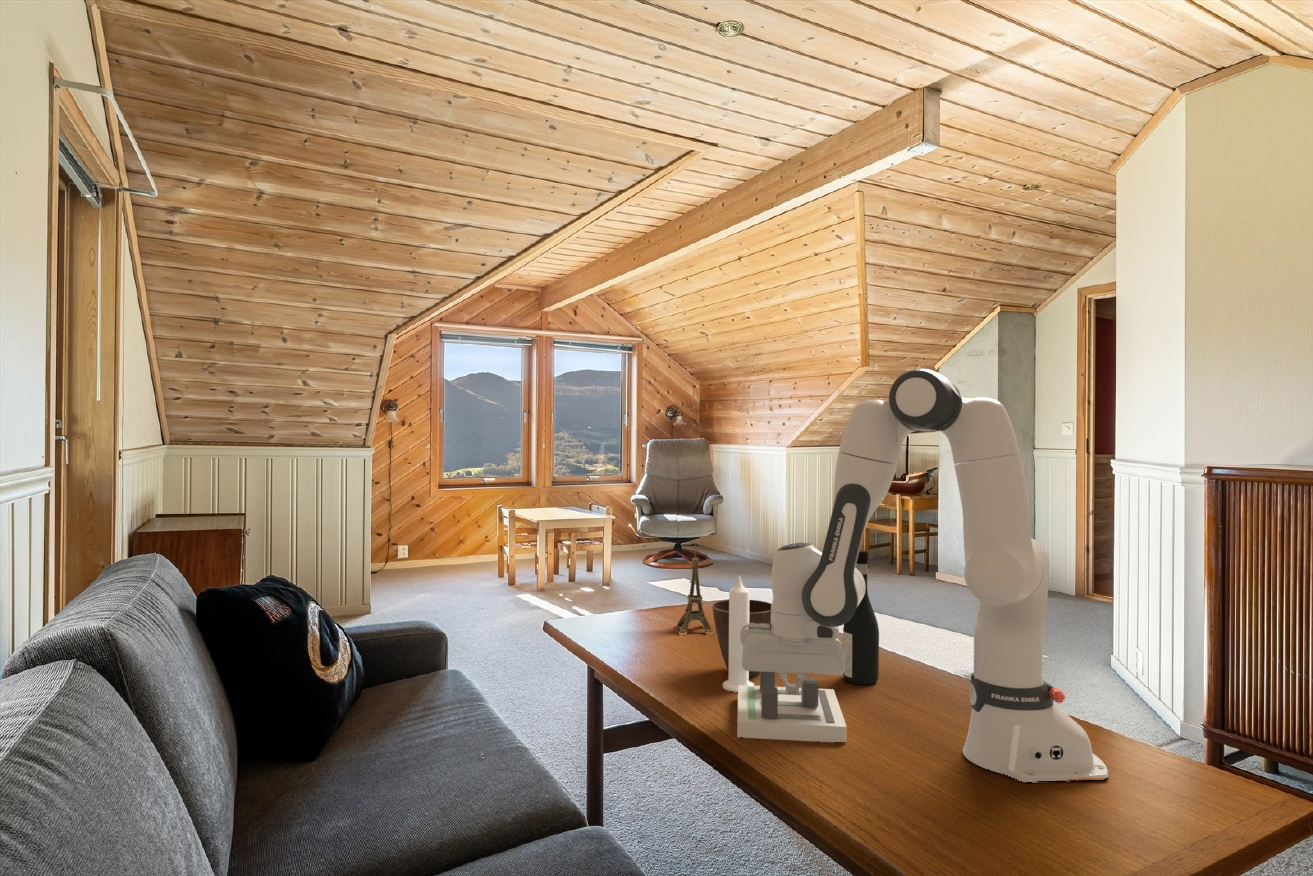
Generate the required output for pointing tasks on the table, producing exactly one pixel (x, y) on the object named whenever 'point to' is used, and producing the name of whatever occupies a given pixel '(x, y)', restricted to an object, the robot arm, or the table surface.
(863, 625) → the wine bottle
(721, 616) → the plant pot
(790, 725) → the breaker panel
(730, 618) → the candle
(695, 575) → the eiffel tower
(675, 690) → the table surface
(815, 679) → the handle
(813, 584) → the robot arm
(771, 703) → the handle
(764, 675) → the handle
